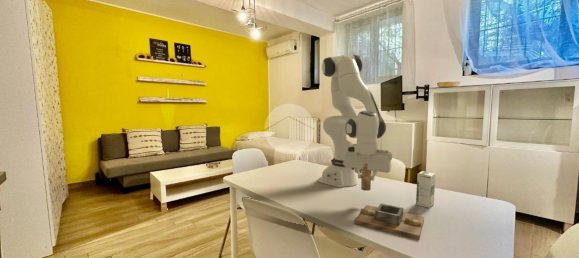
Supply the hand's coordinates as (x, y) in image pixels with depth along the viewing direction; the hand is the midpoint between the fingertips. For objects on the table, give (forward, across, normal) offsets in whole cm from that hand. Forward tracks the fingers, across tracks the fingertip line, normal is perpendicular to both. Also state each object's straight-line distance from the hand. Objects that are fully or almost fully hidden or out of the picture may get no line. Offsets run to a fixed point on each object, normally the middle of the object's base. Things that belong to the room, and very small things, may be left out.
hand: (366, 179), depth 109 cm
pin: (+4, 0, 0) cm, 4 cm away
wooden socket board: (+12, -12, +12) cm, 21 cm away
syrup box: (+12, -23, -13) cm, 29 cm away
